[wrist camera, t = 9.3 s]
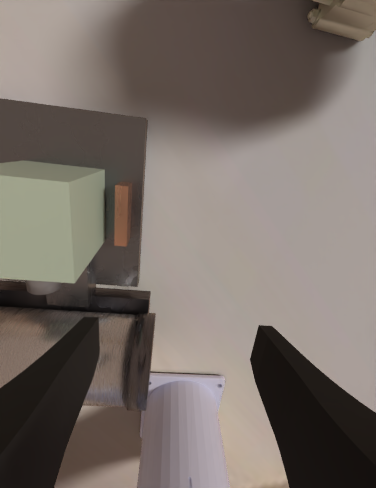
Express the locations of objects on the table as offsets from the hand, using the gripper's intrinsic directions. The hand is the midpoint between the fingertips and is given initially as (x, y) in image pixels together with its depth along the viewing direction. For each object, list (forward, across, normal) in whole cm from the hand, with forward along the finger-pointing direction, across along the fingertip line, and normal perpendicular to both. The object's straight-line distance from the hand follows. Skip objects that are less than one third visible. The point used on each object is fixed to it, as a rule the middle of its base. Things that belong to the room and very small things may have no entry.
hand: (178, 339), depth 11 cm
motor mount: (+9, +8, 0) cm, 12 cm away
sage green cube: (+8, +8, -4) cm, 12 cm away
